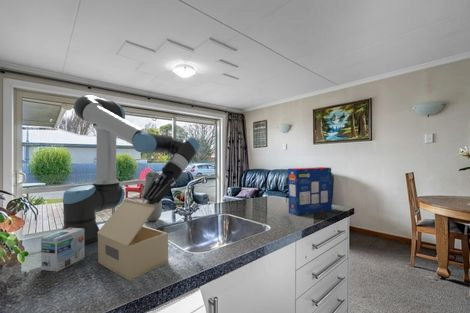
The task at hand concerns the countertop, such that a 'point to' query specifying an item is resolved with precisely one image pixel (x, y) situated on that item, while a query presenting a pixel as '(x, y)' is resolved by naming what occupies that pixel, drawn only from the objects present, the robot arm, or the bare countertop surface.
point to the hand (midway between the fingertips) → (137, 217)
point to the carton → (134, 253)
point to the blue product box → (309, 190)
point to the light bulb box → (62, 249)
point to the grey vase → (158, 209)
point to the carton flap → (126, 221)
